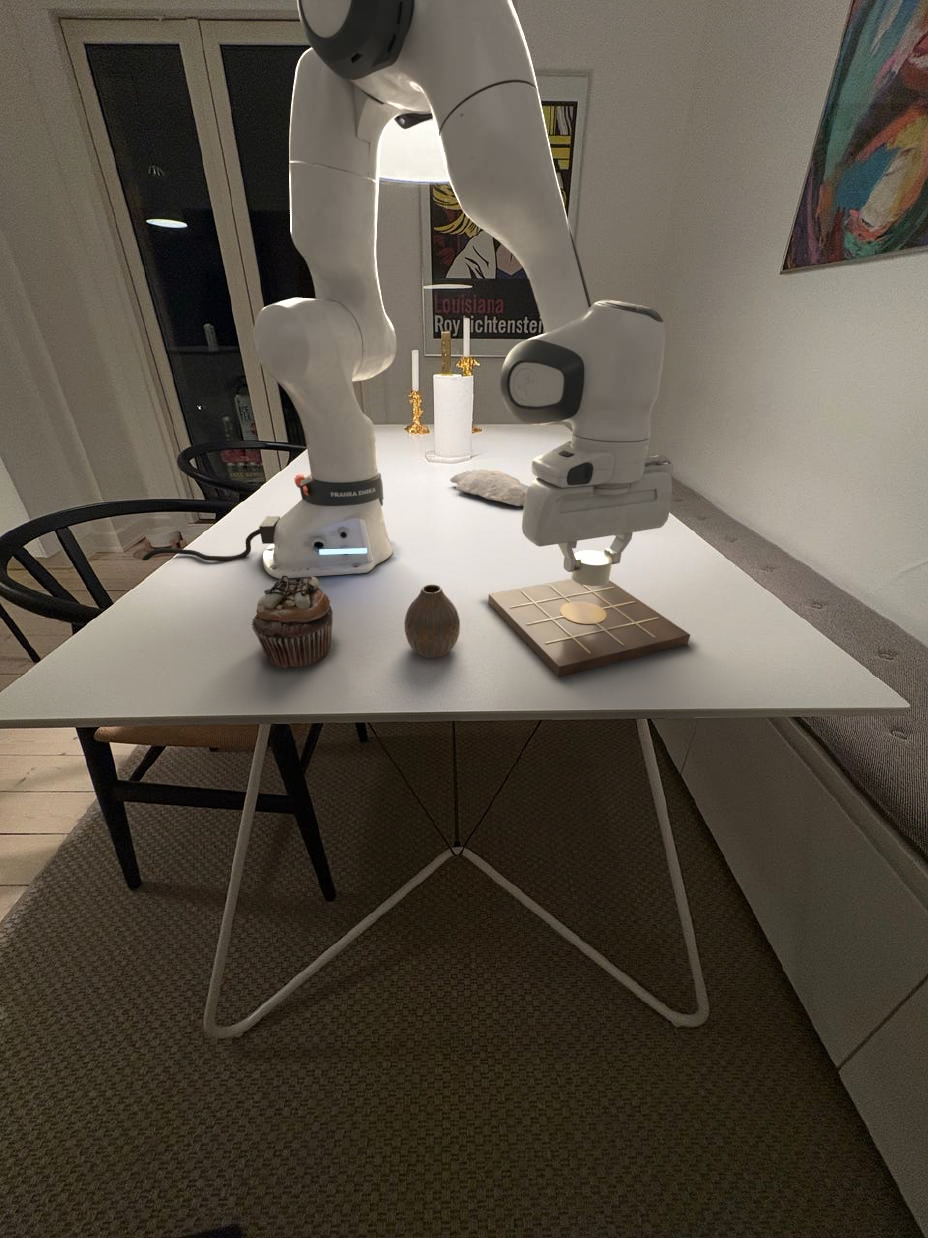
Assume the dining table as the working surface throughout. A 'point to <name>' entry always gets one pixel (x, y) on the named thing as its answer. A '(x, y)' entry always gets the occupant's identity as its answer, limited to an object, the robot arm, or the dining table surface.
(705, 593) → the dining table surface
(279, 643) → the cupcake
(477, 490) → the stone
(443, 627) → the vase
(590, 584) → the game stone
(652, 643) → the board
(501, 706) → the dining table surface
